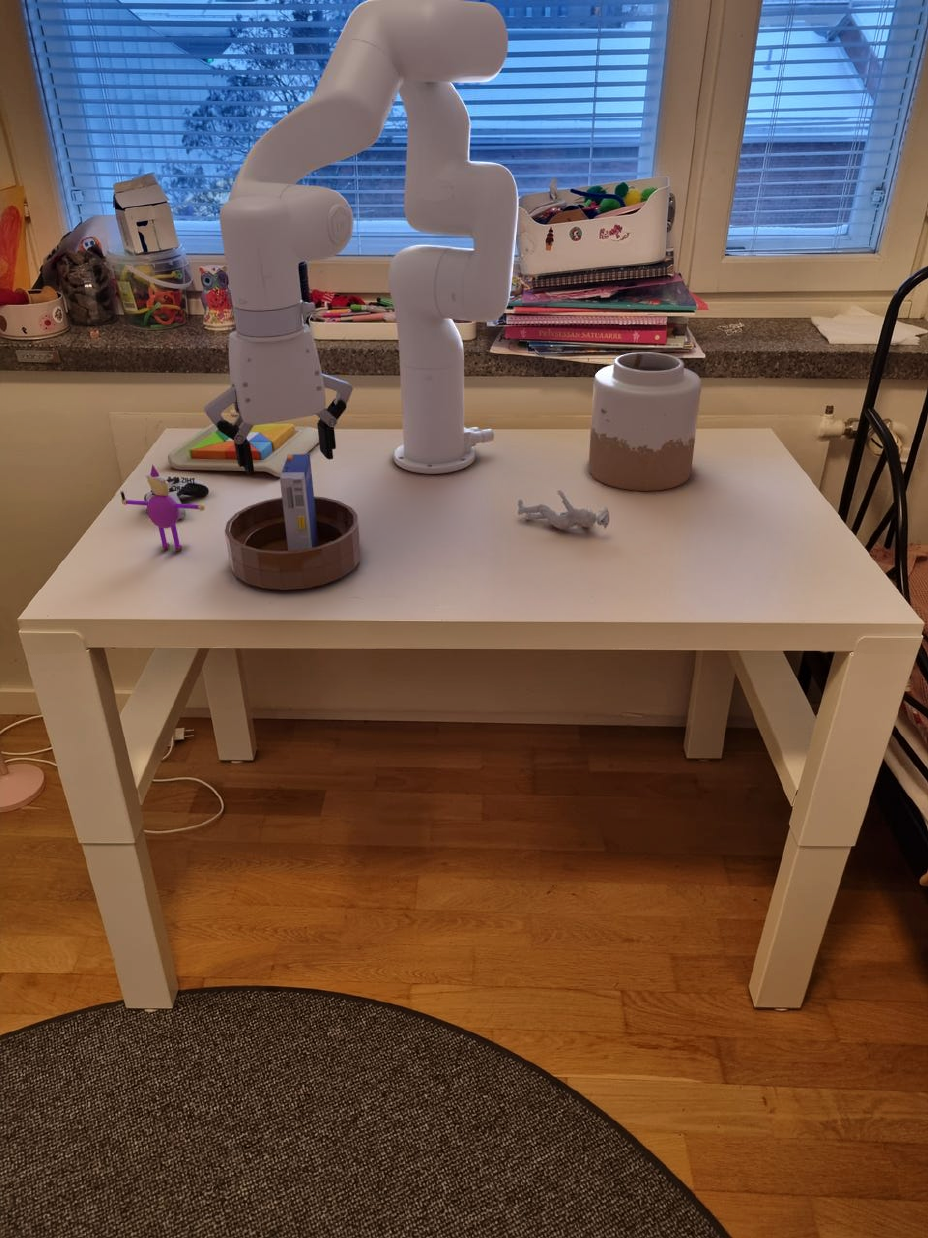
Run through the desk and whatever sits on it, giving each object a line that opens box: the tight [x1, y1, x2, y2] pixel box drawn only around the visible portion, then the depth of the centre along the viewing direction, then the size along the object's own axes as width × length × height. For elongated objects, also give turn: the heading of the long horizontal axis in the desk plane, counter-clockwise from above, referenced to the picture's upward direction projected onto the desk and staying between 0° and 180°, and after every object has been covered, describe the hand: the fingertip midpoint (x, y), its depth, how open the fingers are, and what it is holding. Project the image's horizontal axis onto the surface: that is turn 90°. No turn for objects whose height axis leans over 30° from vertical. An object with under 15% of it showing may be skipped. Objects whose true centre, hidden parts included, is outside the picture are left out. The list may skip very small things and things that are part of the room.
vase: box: [588, 351, 702, 492], centre depth 142 cm, size 15×15×17 cm
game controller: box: [143, 476, 210, 520], centre depth 137 cm, size 10×5×6 cm
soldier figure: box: [517, 490, 610, 531], centre depth 129 cm, size 8×5×12 cm
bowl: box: [224, 496, 362, 591], centre depth 121 cm, size 16×16×6 cm
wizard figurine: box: [119, 464, 205, 552], centre depth 122 cm, size 11×3×12 cm, turn 79°
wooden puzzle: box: [167, 422, 319, 478], centre depth 153 cm, size 18×19×4 cm
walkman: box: [279, 453, 318, 551], centre depth 120 cm, size 8×3×12 cm, turn 1°
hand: (288, 462), depth 116 cm, fingers open, 9 cm apart
